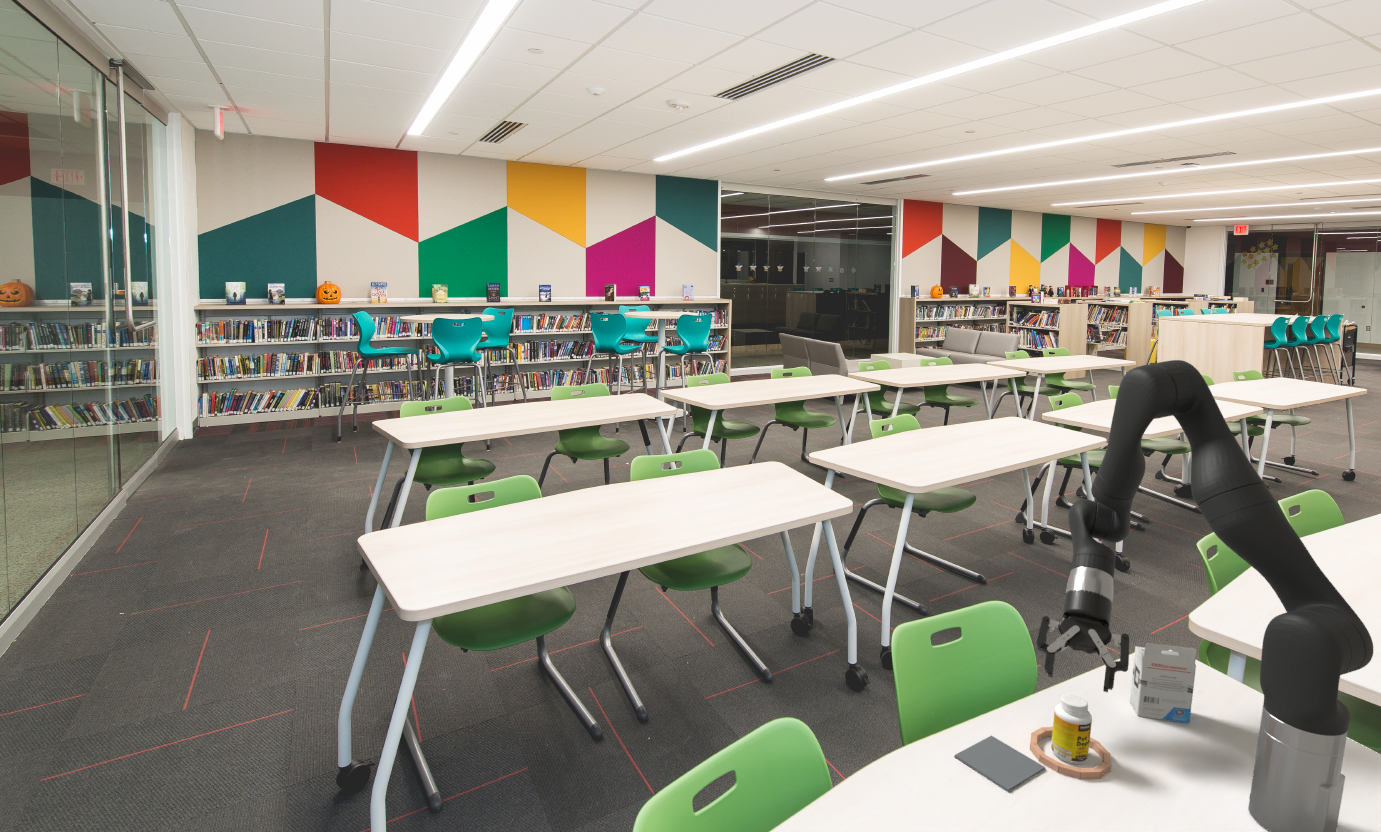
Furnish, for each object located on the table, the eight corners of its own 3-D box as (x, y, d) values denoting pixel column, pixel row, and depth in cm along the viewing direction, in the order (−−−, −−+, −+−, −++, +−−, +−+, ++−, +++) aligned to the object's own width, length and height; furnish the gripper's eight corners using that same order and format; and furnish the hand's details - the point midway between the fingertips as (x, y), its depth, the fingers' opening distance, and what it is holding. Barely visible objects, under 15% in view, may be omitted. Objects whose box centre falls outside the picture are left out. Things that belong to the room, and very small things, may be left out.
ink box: (1180, 709, 131) (1188, 636, 129) (1190, 724, 127) (1199, 649, 124) (1128, 702, 134) (1136, 630, 131) (1136, 716, 129) (1144, 642, 127)
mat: (1045, 769, 115) (1045, 767, 115) (1007, 791, 110) (1008, 789, 110) (991, 737, 123) (991, 735, 123) (954, 757, 118) (954, 754, 118)
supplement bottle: (1076, 770, 115) (1082, 713, 113) (1044, 752, 119) (1049, 697, 118) (1094, 757, 118) (1100, 702, 116) (1061, 740, 122) (1066, 687, 121)
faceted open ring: (1124, 761, 117) (1125, 755, 116) (1084, 788, 110) (1085, 781, 110) (1055, 725, 127) (1056, 719, 126) (1015, 747, 120) (1015, 741, 120)
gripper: (1045, 580, 130) (1031, 664, 123) (1135, 598, 122) (1126, 688, 115) (1046, 597, 135) (1033, 678, 128) (1133, 615, 128) (1124, 702, 120)
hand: (1077, 683), depth 121 cm, fingers open, 8 cm apart
